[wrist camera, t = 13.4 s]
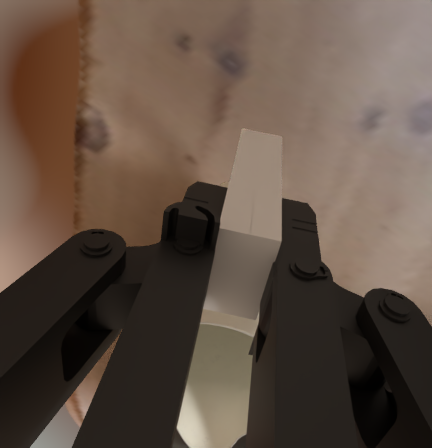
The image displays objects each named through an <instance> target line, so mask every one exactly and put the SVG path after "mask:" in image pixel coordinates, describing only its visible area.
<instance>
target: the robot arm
mask: <svg viewBox="0 0 432 448" xmlns="http://www.w3.org/2000/svg"><path fill="white" fill-rule="evenodd" d="M316 224H317V223H316V215H315V213H314V211H313V210H312V209H311V207H310V206H309V205H308V203H303V202H298V201H293V200H289V199H284V198H282V136H278V135H273V134H269V133H264V132H259V131H254V130H249V129H244V128H242V131H241V135H240V139H239V143H238V147H237V152H236V156H235V160H234V164H233V168H232V172H231V177H230V181H229V185H228V188H226V187H222V186H217V185H212V184H208V183H203V182H196V183H195V184H193V185H192V186H190V187H189V188H188V189H187V192H186V194H185V197H184V199H183V201H182V202H178V203H175V204H172V205H170V206H168V207H167V208H166V210H165V211H164V215H163V225H162V235H161V241H160V242H159V243H156V244H153V245H149V246H140V247H126V242H125V241H124V240H123V238H122V237H121V236H120V235H118V234H116V233H114V232H112V231H108V230H104V229H91V230H87V231H82V232H80V233H78V234H76V235H74V236H72V237H71V238H70V239H68V240H67V241H66V242H65V243H63V244H62V245H61V246H60V247H58V248H57V249H56V250H54V251H53V252H52V253H51V254H50V255H48V256H47V257H46V258H44V259H43V260H42V261H40V262H39V263H38V264H37V265H35V266H34V267H33V268H31V269H30V270H29V271H28V272H26V273H25V274H24V275H23V276H21V277H20V278H19V279H17V280H16V281H15V282H14V283H12V284H11V285H10V286H9V287H7V288H6V289H5V290H3V291H2V292H1V293H0V448H30V446H31V445H32V444H33V443H34V441H35V440H36V439H37V438H38V436H39V435H40V434H41V432H42V431H43V430H44V429H45V427H46V426H47V425H48V424H49V422H50V421H51V420H52V419H53V417H54V416H55V415H56V413H57V412H58V411H59V410H60V408H61V407H62V406H63V405H64V403H65V402H66V401H67V400H68V398H69V397H70V396H71V395H72V393H73V392H74V391H75V389H76V388H77V387H78V386H79V384H80V383H81V382H82V381H83V379H84V378H85V377H86V376H87V374H88V373H89V372H90V370H91V369H92V368H93V367H94V365H95V364H96V363H97V362H98V360H99V359H100V358H101V357H102V355H103V354H104V353H105V352H106V350H107V349H108V348H109V346H110V345H111V344H112V343H113V341H114V340H115V339H116V338H117V336H118V335H119V334H120V332H121V330H122V332H121V334H120V336H119V339H118V341H117V343H116V346H115V348H114V350H113V353H112V355H111V357H110V360H109V362H108V364H107V367H106V369H105V371H104V374H103V376H102V378H101V381H100V383H99V385H98V388H97V390H96V392H95V395H94V397H93V399H92V402H91V404H90V406H89V409H88V411H87V413H86V416H85V418H84V420H83V423H82V425H81V427H80V430H79V432H78V434H77V437H76V439H75V441H74V444H73V446H72V448H172V447H173V442H174V438H175V433H176V429H177V424H178V420H179V415H180V411H181V406H182V402H183V398H184V393H185V389H186V384H187V380H188V375H189V371H190V366H191V362H192V357H193V353H194V348H195V344H196V339H197V335H198V330H199V326H200V321H201V316H202V311H203V309H206V310H211V311H216V312H220V313H225V314H229V315H234V316H238V317H243V318H247V319H252V320H256V319H257V316H258V313H259V323H258V326H257V329H256V332H255V335H254V338H253V341H252V344H251V347H250V350H249V353H248V355H253V358H252V370H251V383H250V395H249V408H248V420H247V433H246V445H245V448H432V327H431V325H430V324H429V322H428V321H427V319H426V318H425V316H424V315H423V313H422V312H421V310H420V309H419V308H418V307H417V306H416V305H415V304H414V302H412V301H411V300H409V299H408V298H407V297H405V296H404V295H402V294H399V293H397V292H395V291H392V290H388V289H382V288H380V289H372V290H371V291H369V292H368V293H366V295H365V297H361V296H359V295H357V294H355V293H352V292H350V291H348V290H346V289H344V288H342V287H340V286H339V285H337V284H336V283H335V282H333V277H332V274H331V272H330V269H329V268H328V267H327V266H326V265H325V264H324V263H323V262H322V261H321V254H320V246H319V238H318V234H317V233H318V231H317V226H316ZM259 310H260V311H259Z"/></svg>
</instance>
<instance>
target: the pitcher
mask: <svg viewBox="0 0 432 448" xmlns="http://www.w3.org/2000/svg"><path fill="white" fill-rule="evenodd" d="M228 185H229V182H224V183H222V184H221V185H220V186H222V187H226V188H228ZM259 311H260V310H259ZM258 323H259V313H258V316H257V319H256V320H252V319H247V318H243V317H238V316H234V315H229V314H225V313H220V312H216V311H211V310H206V309H203V311H202V316H201V321H200V326H199V330H198V335H197V339H196V344H195V348H194V353H193V357H192V362H191V366H190V371H189V375H188V380H187V384H186V389H185V393H184V398H183V402H182V406H181V411H180V415H179V420H178V424H177V431H178V432H179V434H180V436H181V437H182V439H183V440H184V442H185V443H186V444H187V446H188V447H189V448H232V446H233V445H234V444H235V443H236V442H237V440H238V439H239V438H241V437H242V436H244V435H246V433H247V420H248V408H249V395H250V383H251V370H252V358H253V355H248V353H249V350H250V347H251V344H252V341H253V338H254V335H255V332H256V329H257V326H258Z"/></svg>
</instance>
